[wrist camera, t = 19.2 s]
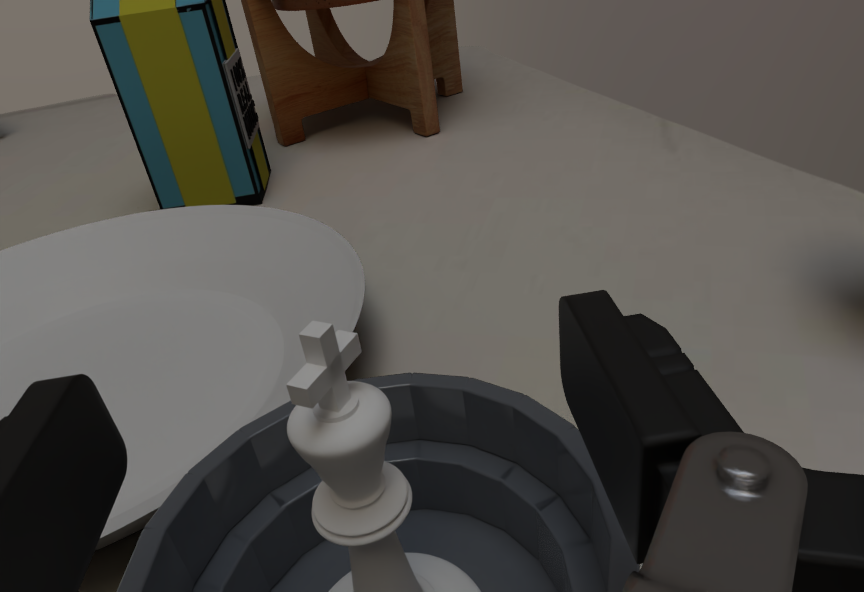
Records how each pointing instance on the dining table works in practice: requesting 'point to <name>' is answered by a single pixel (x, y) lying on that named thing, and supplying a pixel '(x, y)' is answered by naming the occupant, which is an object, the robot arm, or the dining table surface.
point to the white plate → (173, 327)
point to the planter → (354, 62)
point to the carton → (185, 99)
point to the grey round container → (430, 510)
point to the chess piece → (357, 471)
